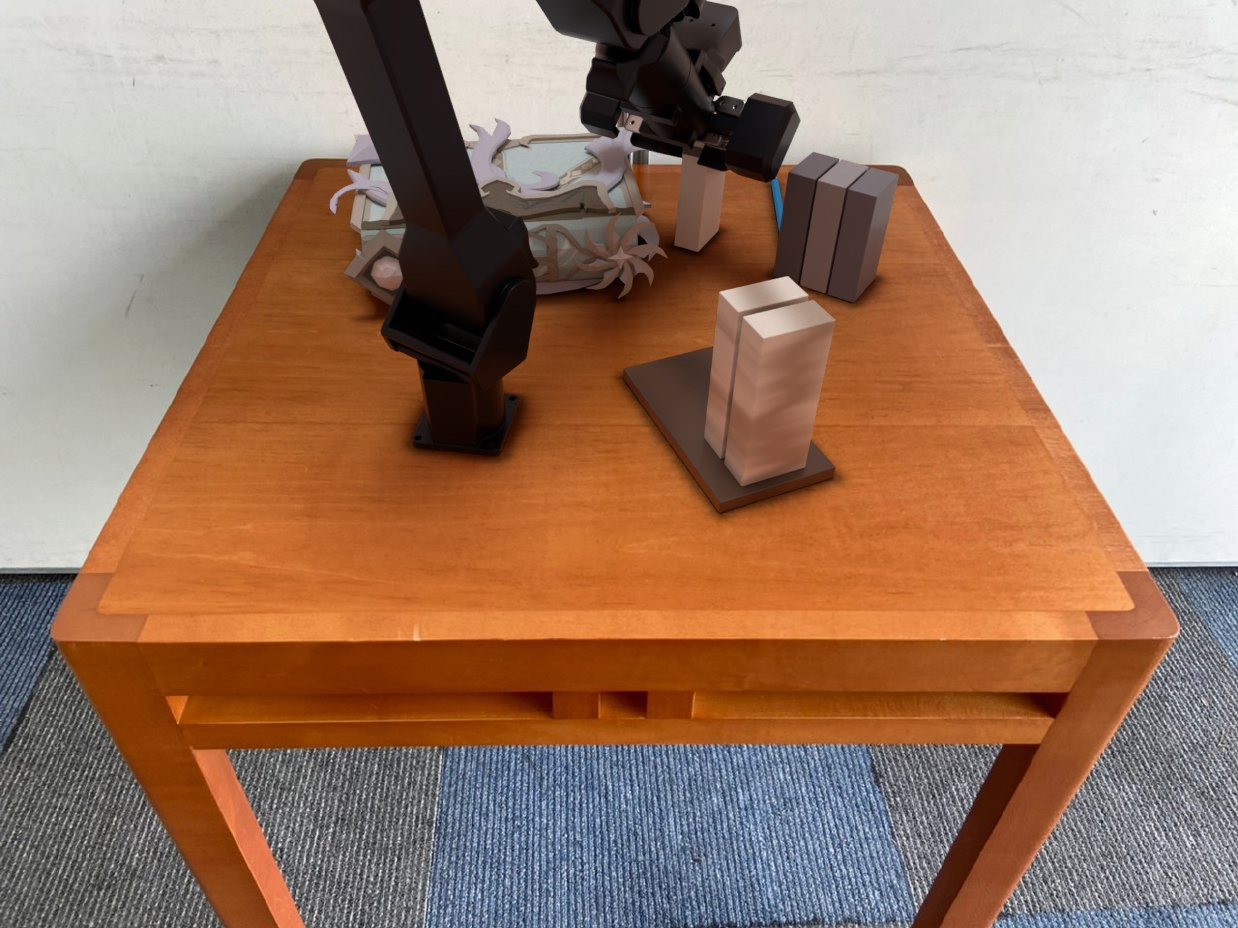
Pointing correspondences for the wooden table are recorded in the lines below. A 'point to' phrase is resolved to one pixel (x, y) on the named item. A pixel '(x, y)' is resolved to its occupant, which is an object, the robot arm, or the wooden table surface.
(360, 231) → the ornate book
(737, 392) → the white book rack
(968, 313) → the wooden table surface
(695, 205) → the white book
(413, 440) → the robot arm
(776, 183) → the pencil
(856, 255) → the grey books
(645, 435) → the wooden table surface
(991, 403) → the wooden table surface
